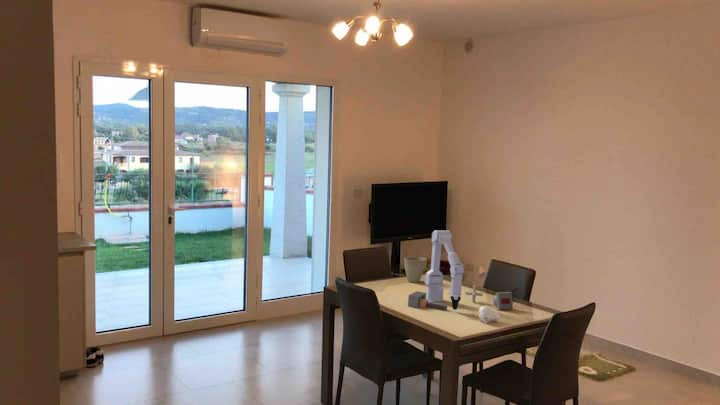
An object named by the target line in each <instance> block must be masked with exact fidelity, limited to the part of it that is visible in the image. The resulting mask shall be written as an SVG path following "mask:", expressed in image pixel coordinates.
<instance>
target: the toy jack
mask: <svg viewBox="0 0 720 405" xmlns="http://www.w3.org/2000/svg"><path fill="white" fill-rule="evenodd" d="M465 295H467V296H472V298H471V302H472V303H476V297H477V296H478V297H479V296H480V297H483V296H484V293H482V292H477V285H472V291H465Z"/></svg>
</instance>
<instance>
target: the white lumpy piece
mask: <svg viewBox="0 0 720 405" xmlns="http://www.w3.org/2000/svg"><path fill="white" fill-rule="evenodd" d="M478 317H479V320H480V321H481V322H483V323H484V324H485V323H486V324H488V322H489V321H493V320H494V322H495V323H496V322H497V323H498V322H499V320H501V315H500V314H499V313H496V312H494V310H493V309H492V308H491V307H489V306H485V305H484V306H483V305H482V306H480V307H479V310H478ZM486 324H485V325H486Z"/></svg>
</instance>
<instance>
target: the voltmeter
mask: <svg viewBox="0 0 720 405" xmlns="http://www.w3.org/2000/svg"><path fill="white" fill-rule="evenodd" d="M518 289H519V287H516V288H514V289H513V290H511V291H504V292H496V293H495V295H494V296H493V299H492V302H493V305H494V306H495V307H496V310H497V311H502V310H503V309H504V310H513V309H514V308H513V307H514V306H513V305H514V303H515V302H516V301H518V300H517V299H515V298H516V297H518V295H517V293H516V290H518ZM504 310H503V311H504Z"/></svg>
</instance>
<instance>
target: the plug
mask: <svg viewBox="0 0 720 405" xmlns="http://www.w3.org/2000/svg"><path fill="white" fill-rule="evenodd" d="M420 307H421V308H428V309H433V310H439V311H442V312H443V311H445V312H446V311H447V310H448V305H445V304H439V303H436V302H429V301H428V299H424V298H421V299H420ZM420 307H419V308H420Z"/></svg>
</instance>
